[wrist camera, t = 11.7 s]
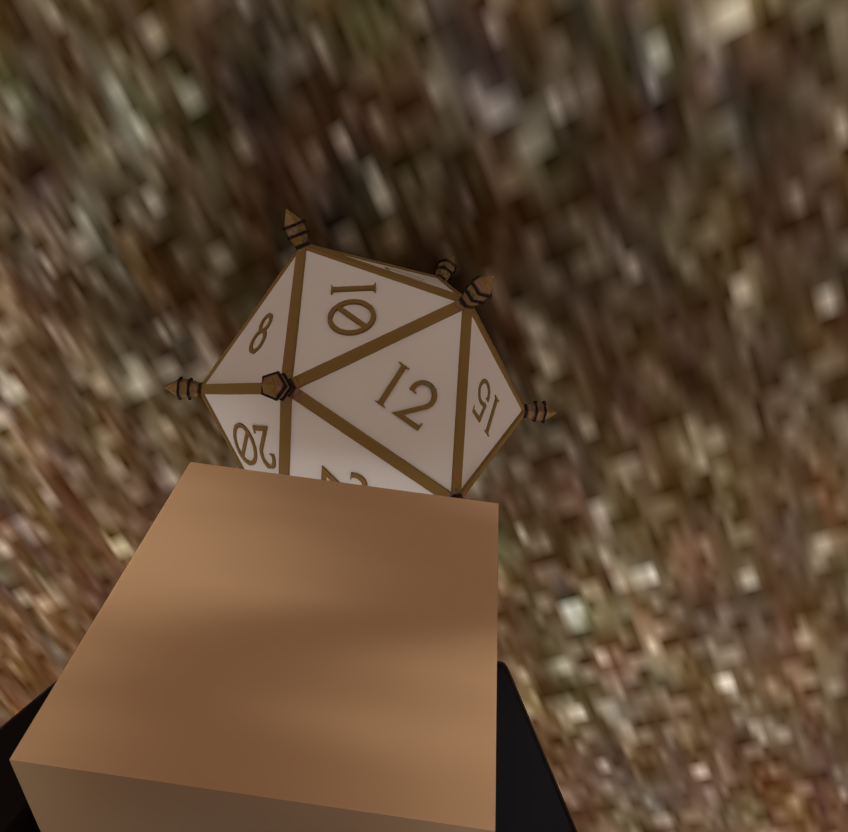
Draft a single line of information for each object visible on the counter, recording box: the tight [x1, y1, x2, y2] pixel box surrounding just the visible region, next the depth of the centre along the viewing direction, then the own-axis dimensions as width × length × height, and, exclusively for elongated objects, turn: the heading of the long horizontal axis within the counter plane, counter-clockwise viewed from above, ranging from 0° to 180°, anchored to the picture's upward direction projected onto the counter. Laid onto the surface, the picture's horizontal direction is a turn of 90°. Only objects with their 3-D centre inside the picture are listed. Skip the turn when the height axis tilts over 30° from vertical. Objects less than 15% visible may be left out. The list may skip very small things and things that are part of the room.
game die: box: [163, 209, 557, 499], centre depth 18 cm, size 9×8×10 cm
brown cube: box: [9, 462, 498, 832], centre depth 8 cm, size 4×4×4 cm
